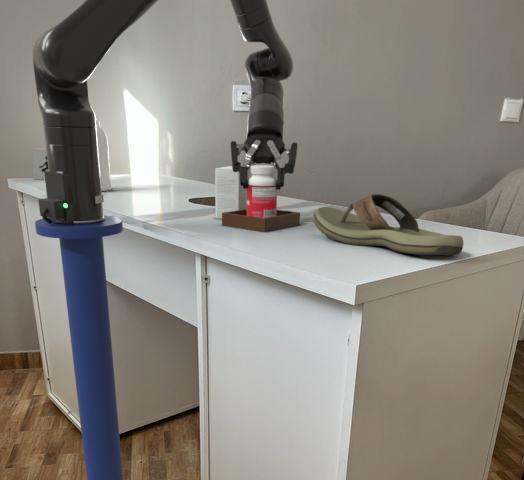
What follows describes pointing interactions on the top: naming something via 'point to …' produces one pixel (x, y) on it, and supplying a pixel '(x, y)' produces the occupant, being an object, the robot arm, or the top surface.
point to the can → (103, 157)
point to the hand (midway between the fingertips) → (261, 186)
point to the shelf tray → (260, 220)
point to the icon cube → (39, 162)
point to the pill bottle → (262, 192)
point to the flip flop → (383, 228)
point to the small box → (229, 191)
